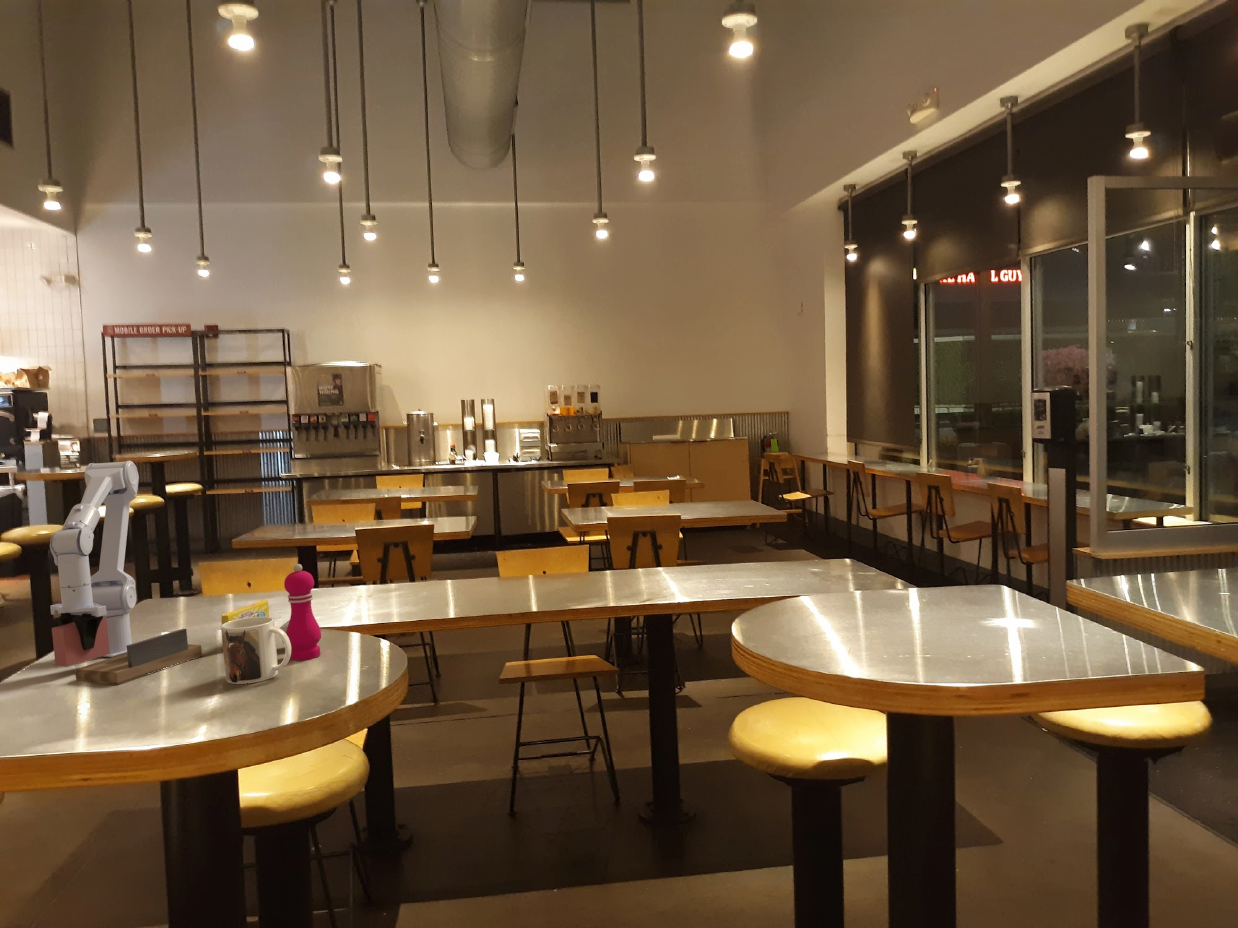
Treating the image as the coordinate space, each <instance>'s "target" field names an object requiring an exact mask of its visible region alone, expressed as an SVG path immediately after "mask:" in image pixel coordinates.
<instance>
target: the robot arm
mask: <svg viewBox="0 0 1238 928" xmlns="http://www.w3.org/2000/svg"><path fill="white" fill-rule="evenodd" d="M139 479H140V476H139V472H138V468H137V466H136V464H135V463H134V462H133V461H132V460H126V461H114V462H112V461H111V462H102V463H101V462H99V463H95V462H91V463H88V464H87V466H86V468H85V470H84V481H85V485H86V487H85V490H84V493H83V496H82V498H81V502H80V503H77V504H75V505H74V506H72V508H71V510H70V512H69V514H68V516H67V518H66V519H65V522H64V524H63V525H62V528H60V529H58V530H57V531H55V532H54V533H52V535H51V537H50V542H49V549H50V553H51V554H52V556H53V559H54V560H53V561H54V564H55V566H57V569H58V580H59V590H60V597H61V600H60V601H61V603H56V604H52V605H50V606H49V607H50V615H59V617H55V618H54V622H55V623H56V624H57V627H58V626H62V625H66V624H69V623H73V622H74V623H75V625H76V627H77V629H78V631H79V634H80V639H81V644H82V648H83V650H88V649H91V648H94V645H95V639H96V634H97V630H98V627H99V625H100V622H101V621H102V619H103V617H106V620H107V630H108V640H109V650H110V654H107V655H104V656H101V657H104V658H113V657H116V656H120V655H123V654H126V653H127V646H126V645H130V644H133V641H132V632H131V623H130V621H131V620H130V612H132V610H133V609H134V607H135V606H136V603H137V590H136V580H135V579H134V577H133V576H131V575H130V574H128V573H126V572H125V571H124V567H125V558H126V547H127V538H128V537H127V536H128V527H129V517H130V509H131V502H133V501H134V500H136V498H137V494H138V490H139V488H138V487H139ZM102 504H104V505H105V512H104V513H105V514H104V522H103V528H102V529H103V530H102V540H101V549H100V557H99V567H98V569H99V570H98V571H97V572H95V573H94V574H92V575H91V569H90V561H89V560H90V559H89V554H91V552H92V550H93V547H94V539H95V535H94V531H95V528H96V526H97V525H98V523H99V521H100V518H101V513H100V510H99V508H100V507H101V505H102Z"/></svg>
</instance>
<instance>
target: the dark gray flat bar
mask: <svg viewBox="0 0 1238 928" xmlns="http://www.w3.org/2000/svg"><path fill="white" fill-rule="evenodd" d="M188 644H189V642H188V634H187V628H181V629H177V630H173V631H170V632H167V633H164V634H161V635H157V636H154V637H150V638H148V639H147V638H146V639H144V640H141V641H137V642H134V643H133V642H132V644H130V645H126V646H127V657H128V667H130V668H133V667H136V666H139V665H142V664H145V663H148V662H151V661H154V660H157V659H160V658H163V657H166V656H169V655H172V654H176V653H179V652H182V651H185V650H188Z"/></svg>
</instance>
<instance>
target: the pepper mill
mask: <svg viewBox="0 0 1238 928" xmlns="http://www.w3.org/2000/svg"><path fill="white" fill-rule="evenodd" d="M283 583H284V584H283V586H284V590H285V591H286V592H287V593H288V595H287V598H288V601H287V602H288V603H289V604H290V618H289V620H290V621H289V620H288V621H289V624H288V627H287V630H286V634H287V636H288V638H289V640H290V643H291V656H290V659H289V660H291V661H306V660H308V661H309V660H312V659H315V658H318V657H320V656H321V646H320V645H318V643H319V641H321V639H322V631H321V628H320V626H319V625H320V624H319V623H318V622H317V620H316V618H315V615H314V613H313V608H312V600H313V599H314V597H313V592H312V590H313V588H314V585H315V580H314V578H313V575H312V574H311V573H310V572H308V571H306V570H303V566H302V564H300V563H296V564H294V566H293V571H292V572H291V573H289V574H287V576H286V577H285V579H284V582H283Z"/></svg>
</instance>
